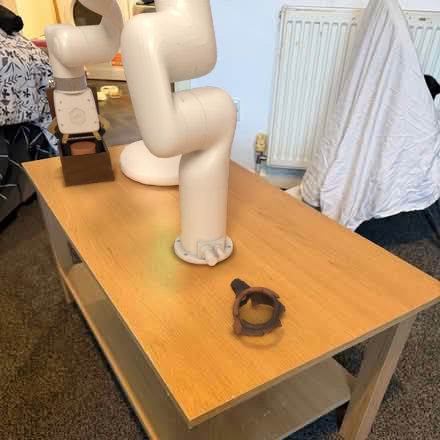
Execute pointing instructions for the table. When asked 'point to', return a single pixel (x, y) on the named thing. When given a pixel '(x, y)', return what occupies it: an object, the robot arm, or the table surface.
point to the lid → (53, 113)
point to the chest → (85, 164)
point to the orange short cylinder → (83, 148)
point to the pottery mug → (257, 297)
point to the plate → (149, 166)
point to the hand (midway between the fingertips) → (84, 154)
